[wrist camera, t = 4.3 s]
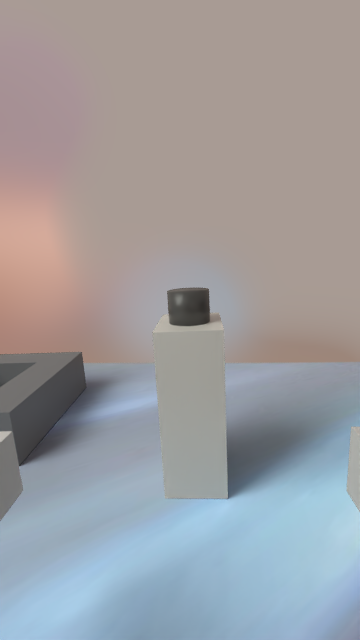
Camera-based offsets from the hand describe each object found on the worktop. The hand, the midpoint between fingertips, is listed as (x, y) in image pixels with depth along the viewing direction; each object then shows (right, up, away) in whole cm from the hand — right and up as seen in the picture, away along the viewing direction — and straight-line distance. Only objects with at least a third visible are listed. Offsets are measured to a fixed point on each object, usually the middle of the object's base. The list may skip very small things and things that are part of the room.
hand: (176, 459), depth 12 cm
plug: (+1, -5, +10) cm, 11 cm away
